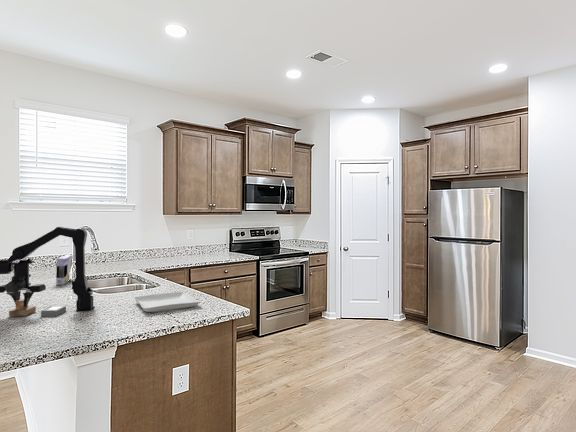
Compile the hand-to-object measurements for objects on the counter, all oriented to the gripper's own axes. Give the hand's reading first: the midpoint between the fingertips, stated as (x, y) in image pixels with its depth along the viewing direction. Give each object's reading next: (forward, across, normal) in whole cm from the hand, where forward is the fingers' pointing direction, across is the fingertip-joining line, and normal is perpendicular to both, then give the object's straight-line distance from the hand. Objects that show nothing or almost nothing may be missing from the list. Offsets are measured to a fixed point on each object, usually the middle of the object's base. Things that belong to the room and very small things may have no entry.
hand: (21, 306), depth 172 cm
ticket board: (+4, +14, 0) cm, 15 cm away
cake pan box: (+4, -20, +78) cm, 81 cm away
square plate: (+4, +62, +13) cm, 64 cm away
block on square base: (+3, 0, 0) cm, 3 cm away
